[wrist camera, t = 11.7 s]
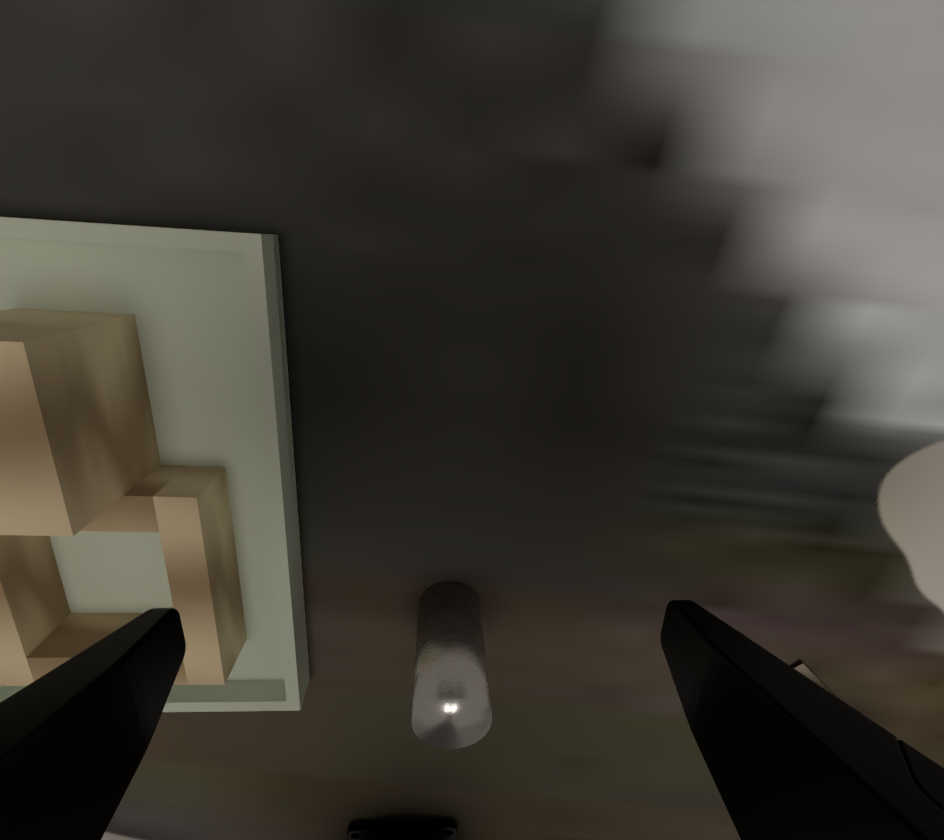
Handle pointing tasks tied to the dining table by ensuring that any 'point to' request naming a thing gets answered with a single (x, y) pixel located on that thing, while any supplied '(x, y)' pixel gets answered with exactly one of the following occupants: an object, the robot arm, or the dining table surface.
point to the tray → (189, 423)
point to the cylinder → (450, 669)
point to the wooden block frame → (100, 495)
